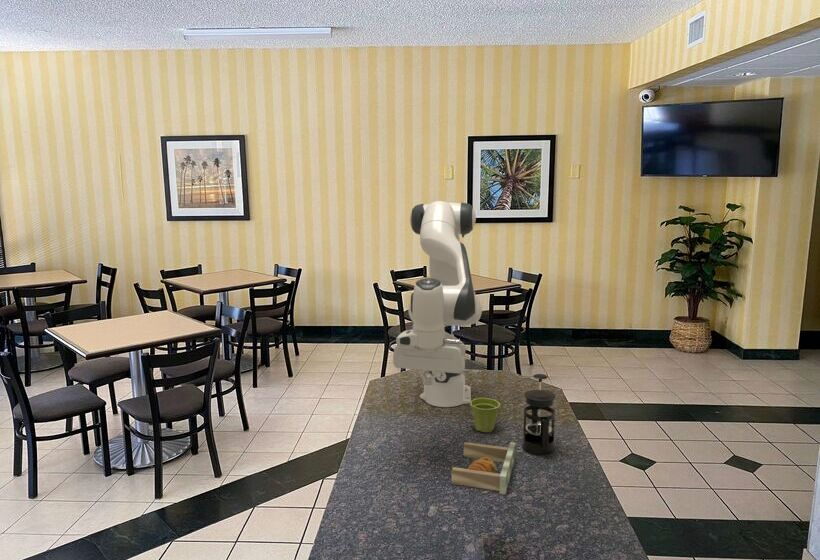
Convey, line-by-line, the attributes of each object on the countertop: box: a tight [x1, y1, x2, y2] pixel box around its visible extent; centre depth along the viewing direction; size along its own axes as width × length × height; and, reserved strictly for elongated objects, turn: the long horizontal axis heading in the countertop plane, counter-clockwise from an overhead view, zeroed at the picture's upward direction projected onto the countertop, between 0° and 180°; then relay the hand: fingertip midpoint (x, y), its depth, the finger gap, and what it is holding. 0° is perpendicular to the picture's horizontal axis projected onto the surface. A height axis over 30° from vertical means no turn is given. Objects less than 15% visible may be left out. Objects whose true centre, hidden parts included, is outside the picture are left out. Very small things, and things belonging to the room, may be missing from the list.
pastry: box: [467, 457, 498, 473], centre depth 163 cm, size 9×7×4 cm
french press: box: [521, 373, 556, 457], centre depth 175 cm, size 12×9×23 cm
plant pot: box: [469, 397, 501, 433], centre depth 191 cm, size 9×9×9 cm
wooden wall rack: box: [451, 441, 516, 495], centre depth 164 cm, size 20×14×5 cm
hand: (428, 384), depth 168 cm, fingers closed
